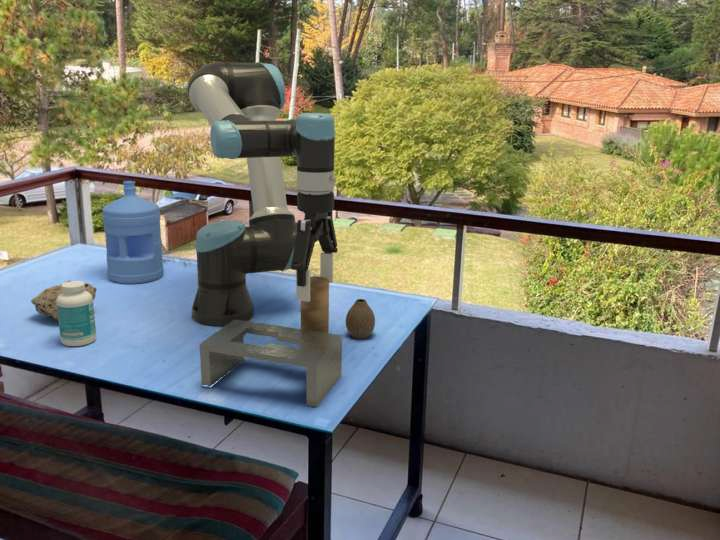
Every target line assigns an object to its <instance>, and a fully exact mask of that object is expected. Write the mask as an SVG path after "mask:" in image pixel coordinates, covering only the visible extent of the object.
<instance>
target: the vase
mask: <svg viewBox="0 0 720 540" xmlns="http://www.w3.org/2000/svg"><path fill="white" fill-rule="evenodd" d="M375 325H376V317H375V313H374V311H373V309H372V308H371V307H370V305H369V304H368V302H367V300H366V299H364V298H357V299H356V300H355V301H354V303H353V305H351V307H350V308H349V309H348V311H347V313H346V315H345V326H346V330H347V332H348V334H349V335H350V336H351V337H352V338H355V339H360V340H361V339H366V338H368V337H369V336H370V335H372V333H373V332H374V329H375Z"/></svg>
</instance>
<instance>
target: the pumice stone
mask: <svg viewBox="0 0 720 540" xmlns="http://www.w3.org/2000/svg"><path fill="white" fill-rule="evenodd" d="M71 281H72V280H67V281H66V282H71ZM66 282H64V283H66ZM83 282H84V281H83ZM62 284H63V283H61V284H59V285H54V286H51V287H48V288H45V289H44V290H42V291H41V292H40V293H39V294H37V296H35V297H33V298H31V300H30V302H31V303H32V305H34V308H35V311H36V312H37V313H38V314H40V315H43V316H45V317H52V318H53V319H54V320H57V321H58V312H57V304H56V299H57V297H58V296H59V295H60V294H62V293H63V291H62V286H61V285H62ZM84 284H85V290H84V291H87V292H89V293H90V294H91V295H92V297H93V301H94V300H95V299H96V292H97V288H96V287H94V286H93V285H92V284H90V283H88V282H84Z"/></svg>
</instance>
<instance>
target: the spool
mask: <svg viewBox="0 0 720 540" xmlns="http://www.w3.org/2000/svg"><path fill="white" fill-rule="evenodd" d="M329 310H330V283H329V280H328V279H327V278H324V277H320V276H316V275H315V276H310V301H309V302H307V301H300V329H303V330H310V331H317V332H324V333H330V332H329V331H330V330H329V328H330V327H329V325H330V324H329V322H330V321H329V320H330V319H329V318H330V317H329V315H330V312H329Z"/></svg>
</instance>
